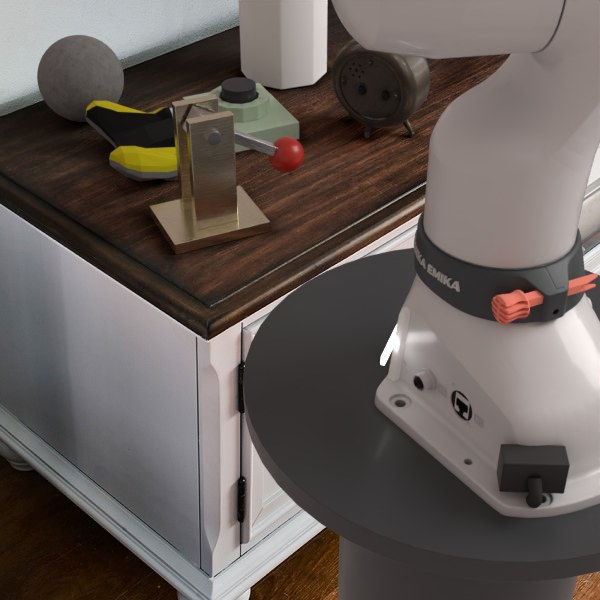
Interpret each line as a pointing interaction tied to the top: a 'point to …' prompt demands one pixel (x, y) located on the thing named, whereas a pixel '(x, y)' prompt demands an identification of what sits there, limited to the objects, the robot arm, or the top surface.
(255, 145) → the switch lever
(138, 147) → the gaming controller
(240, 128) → the button box
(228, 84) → the button
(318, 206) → the top surface
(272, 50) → the cup
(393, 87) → the alarm clock
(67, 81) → the decorative ball
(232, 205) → the switch bracket
